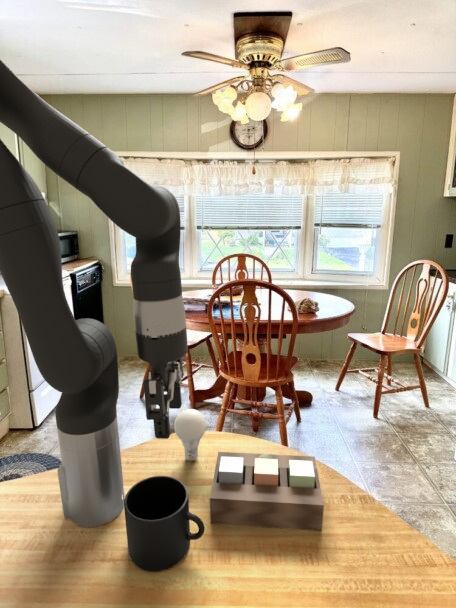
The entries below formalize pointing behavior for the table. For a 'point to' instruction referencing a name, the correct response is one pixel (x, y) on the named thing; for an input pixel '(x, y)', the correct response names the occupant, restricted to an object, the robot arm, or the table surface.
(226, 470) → the slate button
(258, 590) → the table surface
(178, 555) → the mug
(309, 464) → the sage button
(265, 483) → the terracotta button
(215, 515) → the console
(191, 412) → the lightbulb
